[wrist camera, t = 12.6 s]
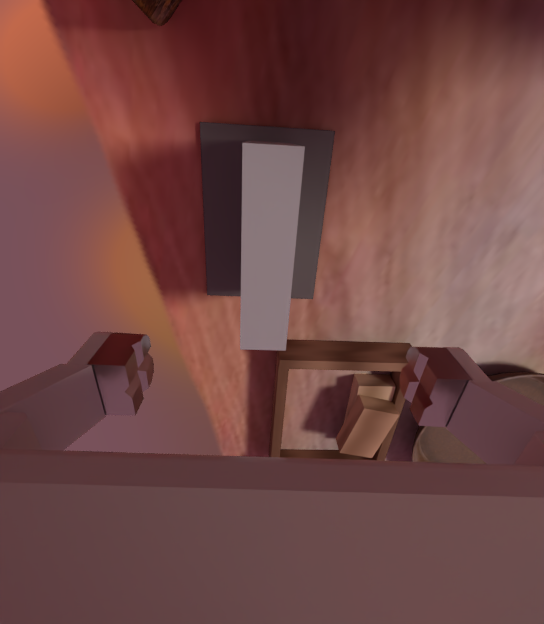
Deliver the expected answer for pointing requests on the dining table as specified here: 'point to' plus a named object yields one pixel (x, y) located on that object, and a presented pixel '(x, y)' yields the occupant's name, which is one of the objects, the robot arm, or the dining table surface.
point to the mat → (228, 201)
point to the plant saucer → (448, 448)
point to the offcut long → (370, 388)
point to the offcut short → (366, 426)
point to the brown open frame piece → (334, 358)
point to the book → (158, 9)
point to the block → (268, 240)
